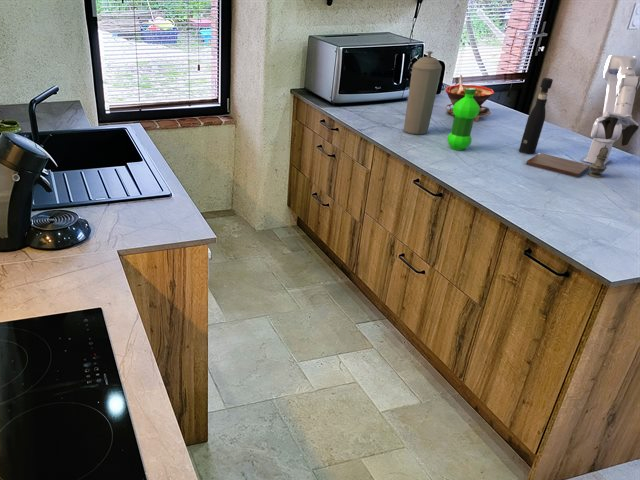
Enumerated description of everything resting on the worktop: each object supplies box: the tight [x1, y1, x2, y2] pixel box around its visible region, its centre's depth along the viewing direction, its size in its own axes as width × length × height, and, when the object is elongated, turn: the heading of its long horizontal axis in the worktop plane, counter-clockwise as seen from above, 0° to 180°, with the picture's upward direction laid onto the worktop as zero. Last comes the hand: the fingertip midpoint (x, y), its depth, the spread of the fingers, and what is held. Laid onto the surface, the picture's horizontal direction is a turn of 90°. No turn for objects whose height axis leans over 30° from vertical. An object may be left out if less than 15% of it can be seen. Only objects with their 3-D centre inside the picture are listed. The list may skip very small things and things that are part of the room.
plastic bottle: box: [447, 88, 480, 151], centre depth 249 cm, size 10×10×25 cm
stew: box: [444, 74, 495, 122], centre depth 298 cm, size 28×24×16 cm
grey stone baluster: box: [587, 145, 608, 178], centre depth 228 cm, size 6×6×12 cm
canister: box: [403, 50, 443, 135], centre depth 266 cm, size 13×13×35 cm
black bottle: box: [518, 77, 554, 155], centre depth 246 cm, size 6×6×30 cm
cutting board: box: [526, 152, 590, 178], centre depth 239 cm, size 14×20×2 cm
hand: (616, 141), depth 219 cm, fingers open, 7 cm apart
